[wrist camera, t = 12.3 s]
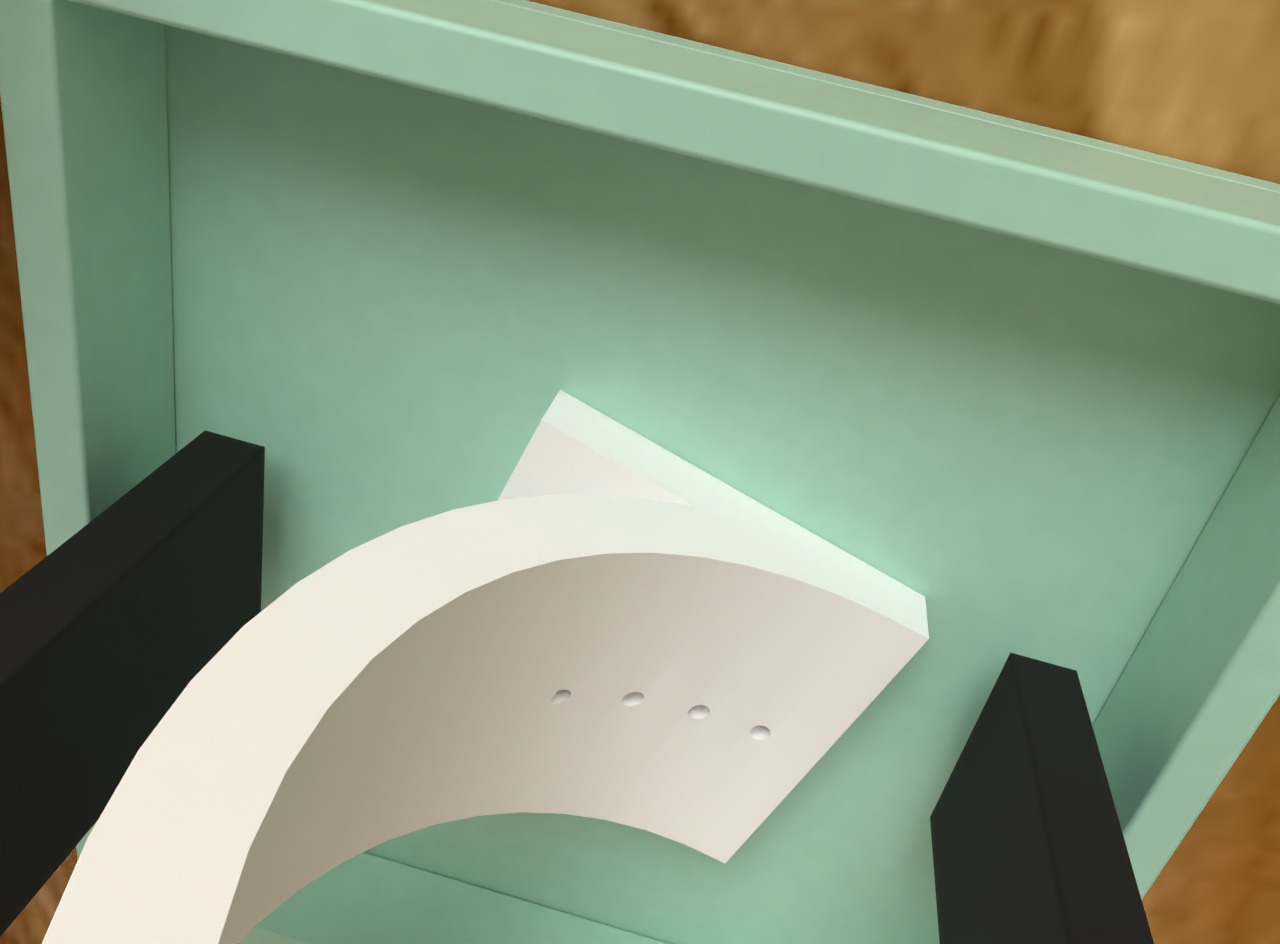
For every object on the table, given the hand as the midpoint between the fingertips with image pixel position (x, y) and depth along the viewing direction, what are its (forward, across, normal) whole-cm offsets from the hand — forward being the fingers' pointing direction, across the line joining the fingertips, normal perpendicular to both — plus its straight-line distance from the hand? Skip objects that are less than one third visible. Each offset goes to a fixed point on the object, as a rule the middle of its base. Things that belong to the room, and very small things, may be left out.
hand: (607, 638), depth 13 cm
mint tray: (+1, 0, 0) cm, 1 cm away
